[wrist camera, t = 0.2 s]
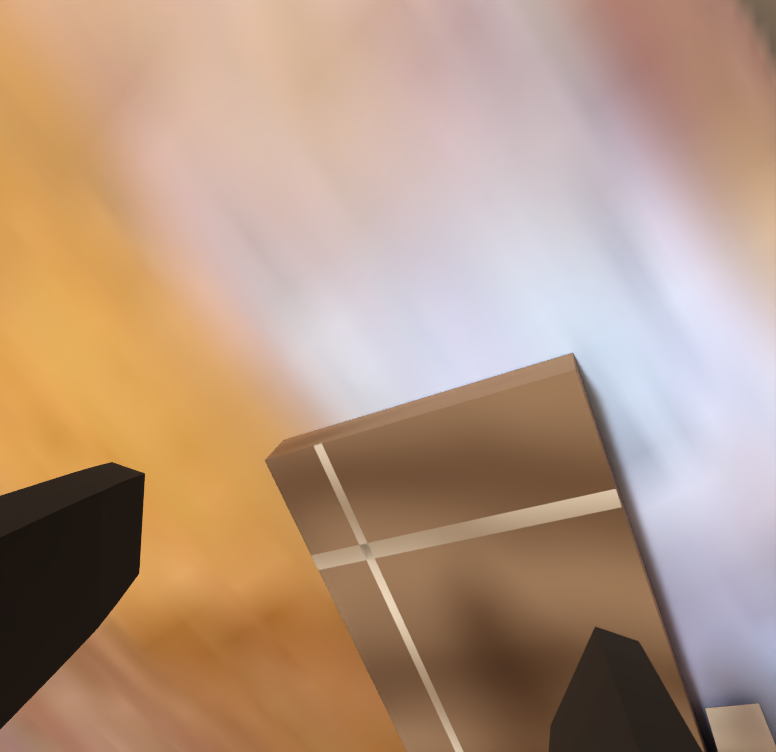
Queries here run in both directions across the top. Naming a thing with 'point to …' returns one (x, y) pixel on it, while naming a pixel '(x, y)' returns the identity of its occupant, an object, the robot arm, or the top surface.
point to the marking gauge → (740, 729)
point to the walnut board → (476, 554)
